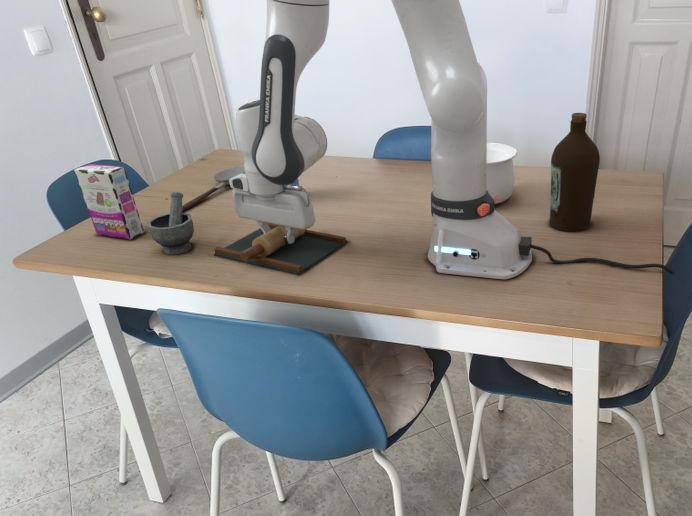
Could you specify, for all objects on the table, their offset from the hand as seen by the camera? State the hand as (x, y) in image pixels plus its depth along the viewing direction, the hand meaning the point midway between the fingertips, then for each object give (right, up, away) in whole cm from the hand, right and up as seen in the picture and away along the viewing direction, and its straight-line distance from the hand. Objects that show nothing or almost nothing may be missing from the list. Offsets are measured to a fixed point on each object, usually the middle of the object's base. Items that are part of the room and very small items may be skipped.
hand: (279, 240), depth 142 cm
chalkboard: (0, -2, +1) cm, 2 cm away
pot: (+47, +15, +23) cm, 54 cm away
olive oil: (+67, +5, +7) cm, 68 cm away
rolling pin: (0, -2, +1) cm, 2 cm away
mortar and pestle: (-24, -1, +4) cm, 25 cm away
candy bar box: (-42, +4, +12) cm, 44 cm away
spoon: (-27, +18, +33) cm, 46 cm away
